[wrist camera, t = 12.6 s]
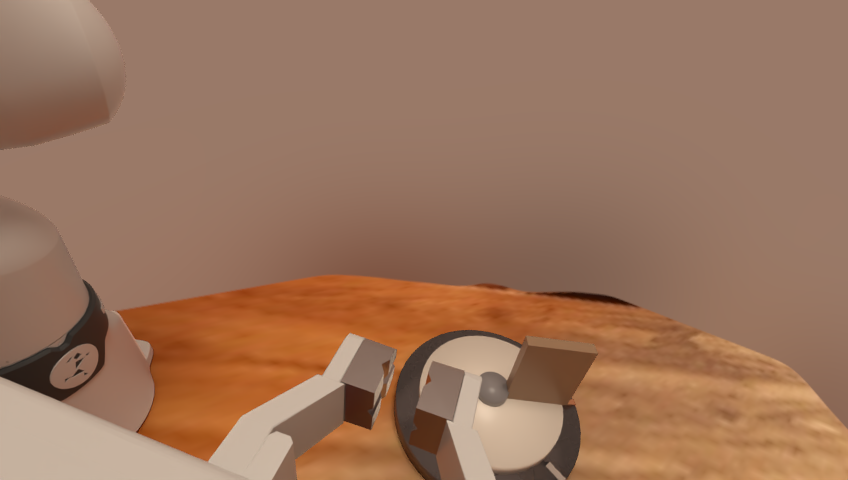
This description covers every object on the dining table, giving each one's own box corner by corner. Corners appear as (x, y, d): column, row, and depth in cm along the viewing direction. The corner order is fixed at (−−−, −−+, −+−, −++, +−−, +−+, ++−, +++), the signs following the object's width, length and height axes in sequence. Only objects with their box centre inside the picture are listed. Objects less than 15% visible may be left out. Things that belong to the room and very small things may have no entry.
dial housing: (364, 467, 39) (365, 456, 38) (423, 321, 56) (425, 311, 55) (577, 549, 36) (585, 540, 35) (572, 368, 53) (578, 358, 52)
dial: (414, 465, 38) (429, 403, 32) (421, 336, 51) (433, 275, 45) (580, 483, 39) (626, 426, 33) (546, 351, 52) (574, 293, 46)
